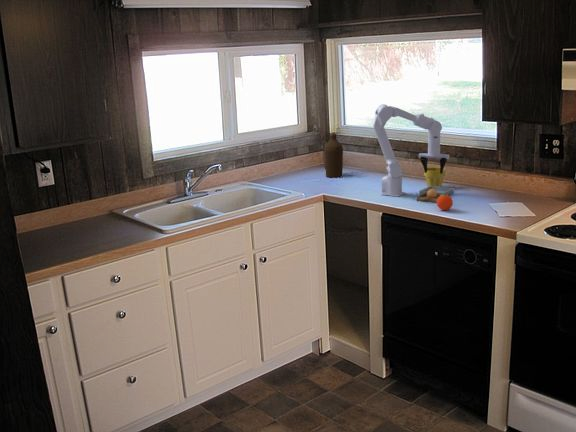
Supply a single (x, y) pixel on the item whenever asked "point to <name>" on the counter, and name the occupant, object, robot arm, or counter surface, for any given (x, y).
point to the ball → (432, 193)
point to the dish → (439, 190)
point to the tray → (427, 198)
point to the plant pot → (434, 176)
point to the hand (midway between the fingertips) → (433, 172)
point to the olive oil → (333, 157)
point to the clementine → (444, 202)
